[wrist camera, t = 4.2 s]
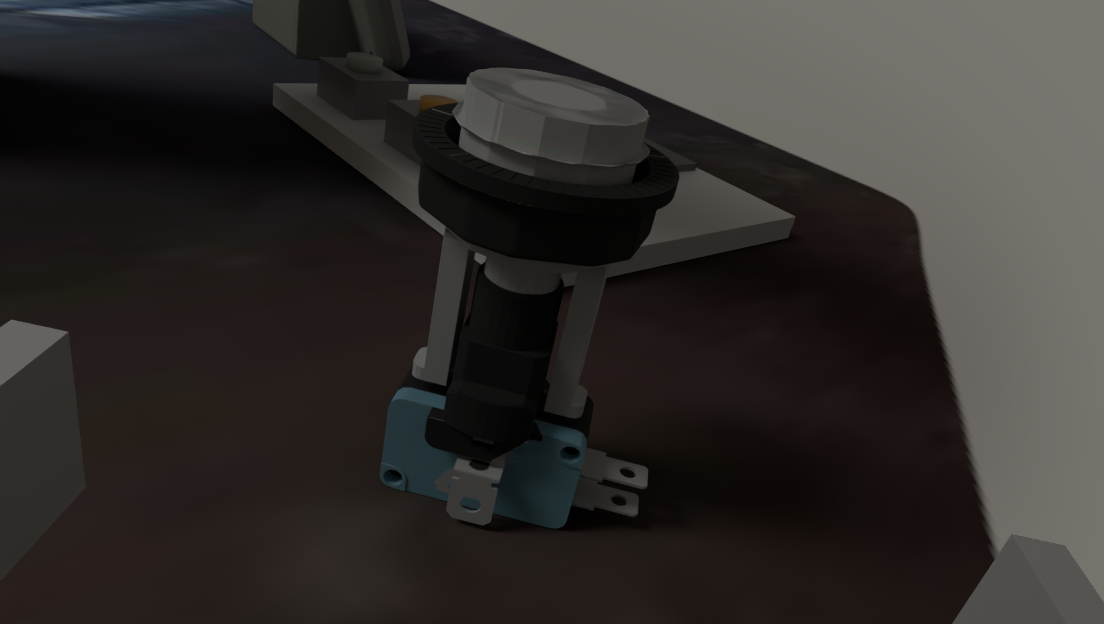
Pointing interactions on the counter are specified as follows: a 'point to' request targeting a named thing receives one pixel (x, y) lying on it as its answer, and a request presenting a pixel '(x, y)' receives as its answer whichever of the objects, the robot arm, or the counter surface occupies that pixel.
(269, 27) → the digital clock
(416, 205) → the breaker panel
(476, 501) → the push button
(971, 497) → the counter surface
